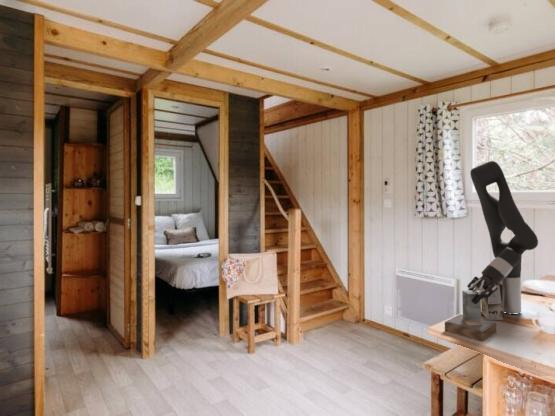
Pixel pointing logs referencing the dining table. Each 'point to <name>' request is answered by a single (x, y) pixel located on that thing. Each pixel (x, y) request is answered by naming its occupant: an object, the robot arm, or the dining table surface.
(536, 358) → the dining table surface
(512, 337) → the dining table surface
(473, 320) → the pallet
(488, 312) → the coffee box
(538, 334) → the dining table surface
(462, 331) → the plate
